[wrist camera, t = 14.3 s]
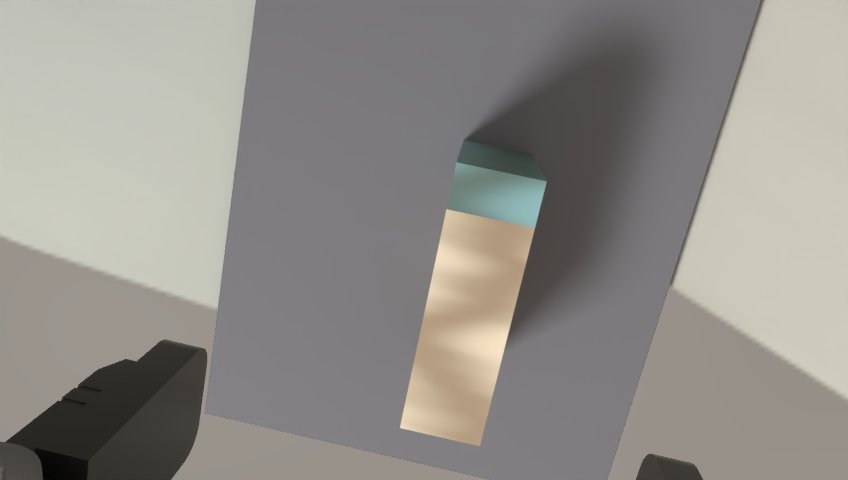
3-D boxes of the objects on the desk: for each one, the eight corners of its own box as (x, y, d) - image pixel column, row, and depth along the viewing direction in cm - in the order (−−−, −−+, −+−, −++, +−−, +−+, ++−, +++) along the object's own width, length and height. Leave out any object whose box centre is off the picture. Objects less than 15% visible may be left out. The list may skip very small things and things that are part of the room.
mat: (208, 409, 33) (204, 413, 33) (279, -159, 26) (276, -162, 26) (597, 500, 32) (598, 505, 32) (776, -60, 25) (780, -62, 25)
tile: (400, 427, 24) (456, 162, 21) (418, 349, 31) (463, 140, 28) (479, 446, 24) (546, 181, 21) (481, 363, 31) (532, 154, 28)
